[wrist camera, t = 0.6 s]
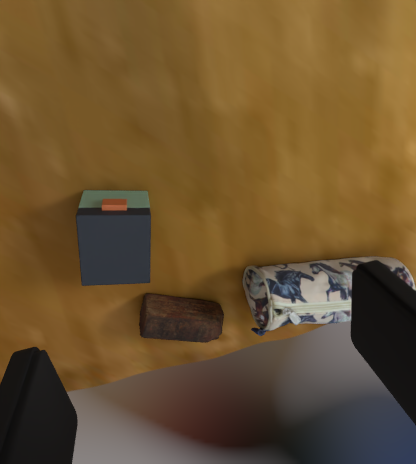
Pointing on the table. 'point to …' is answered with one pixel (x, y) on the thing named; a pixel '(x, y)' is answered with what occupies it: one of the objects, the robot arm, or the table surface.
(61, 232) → the table surface
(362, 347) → the robot arm
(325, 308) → the pencil case
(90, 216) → the lunchbox
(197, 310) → the brick
